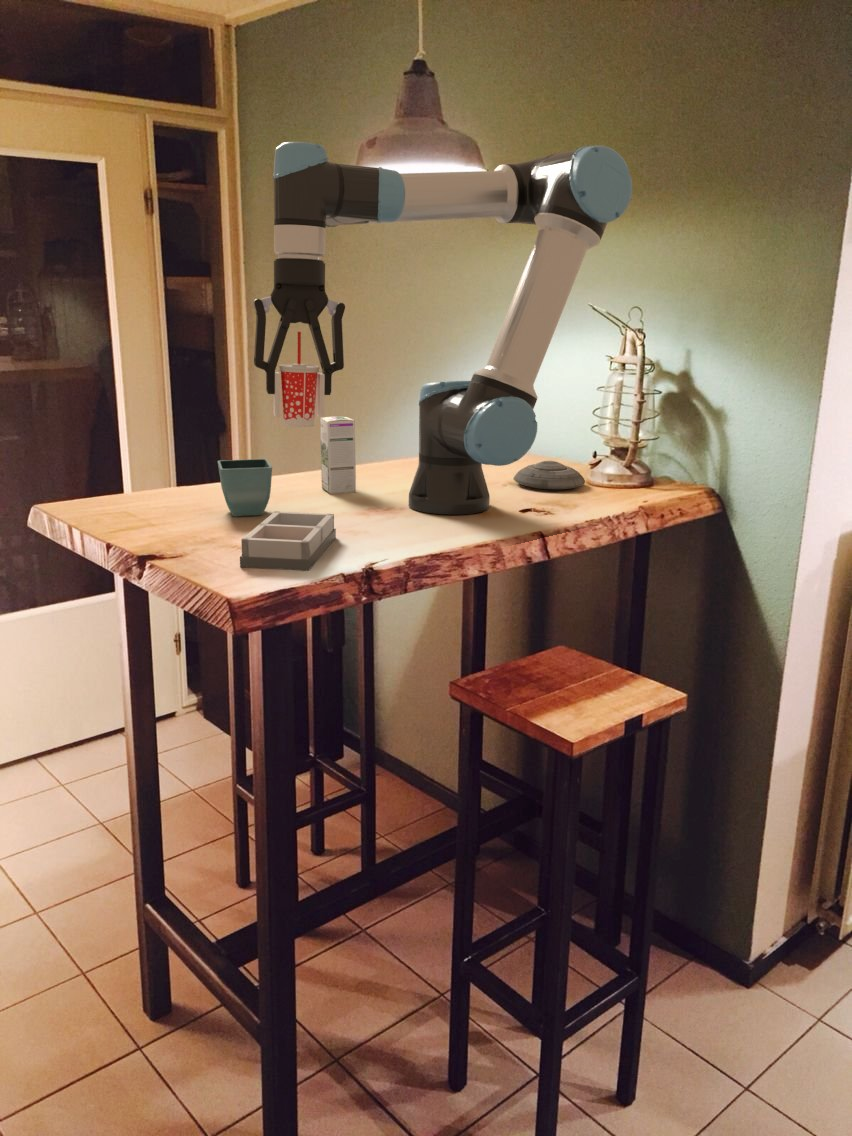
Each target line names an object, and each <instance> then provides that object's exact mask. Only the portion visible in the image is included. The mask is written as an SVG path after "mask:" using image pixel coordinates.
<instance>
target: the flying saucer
mask: <svg viewBox="0 0 852 1136" xmlns="http://www.w3.org/2000/svg"><path fill="white" fill-rule="evenodd" d="M513 481H515V482H516V483H518V484H520V485H522V486H525V487H528V488H534V489H540V490H569V489H574V488H578V487H581V486H583V485H584V484H585V483H586V480H585V478H584V477H583V475H582V474H581V473H580V472H579V471H577V469H574V468H573V467H571V466H569V465H565V464H563V463H561V462H558V461H555V460H544V461H543V460H542V461H540V462H536V463H535V464H533V463H532V464H529V465H527V466H525V467H523V468H521V469H520V470H518V471H517V472H516V473H515V475H514V476H513Z"/></svg>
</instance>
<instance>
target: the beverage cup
mask: <svg viewBox="0 0 852 1136" xmlns="http://www.w3.org/2000/svg"><path fill="white" fill-rule="evenodd" d="M301 346H302V332H301V331H297V363H288V364H287V363H286V364H285V363H284V364H278V368H279V370H278V372H280V387H281V402H282V415H283V416H282V417H283V426H284V427H285V426H286V427H293V428H310V427H314V426H315V422H314V421H315V415H316V414H315V412H316V411H315V410H316V401H317V373H320V370H319V369H320V366H319V365H311V364H307V363H301V357H302V356H301V354H302V353H301V352H302V351H301V350H302V347H301Z"/></svg>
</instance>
